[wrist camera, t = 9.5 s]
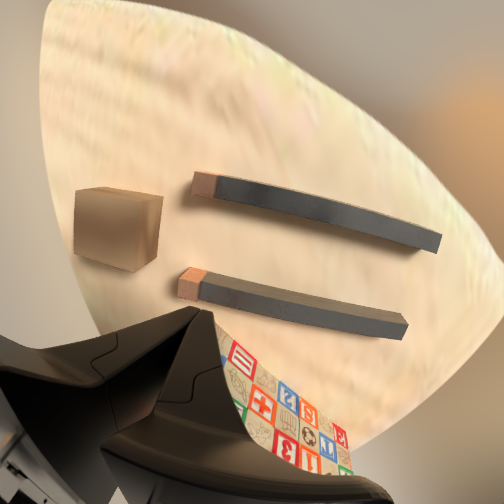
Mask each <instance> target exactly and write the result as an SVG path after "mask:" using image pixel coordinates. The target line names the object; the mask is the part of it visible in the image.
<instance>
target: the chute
mask: <svg viewBox="0 0 504 504" xmlns="http://www.w3.org/2000/svg"><path fill="white" fill-rule="evenodd" d="M191 194H193V195H199V196H204V197H209V198H219V199H224V200H229V201H234V202H239V203H243V204H248V205H253V206H257V207H262V208H266V209H271V210H275V211H280V212H284V213H288V214H293V215H297V216H301V217H305V218H309V219H313V220H317V221H321V222H325V223H329V224H333V225H337V226H341V227H345V228H349V229H353V230H356V231H360V232H364V233H367V234H371V235H375V236H378V237H382V238H385V239H389V240H392V241H396V242H399V243H403V244H406V245H409V246H413V247H416V248H419V249H423V250H426V251H429V252H432V253H435V254H437V251H438V248H439V245H440V241H441V238H442V234H440V233H438V232H435V231H433V230H431V229H428V228H425V227H422V226H420V225H417V224H414V223H411V222H408V221H404V220H401V219H398V218H395V217H392V216H389V215H386V214H382V213H379V212H376V211H372V210H369V209H365V208H362V207H359V206H355V205H351V204H348V203H344V202H341V201H337V200H333V199H329V198H325V197H322V196H318V195H314V194H310V193H306V192H301V191H297V190H293V189H289V188H284V187H280V186H276V185H271V184H266V183H262V182H257V181H252V180H247V179H242V178H237V177H232V176H226V175H221V174H215V173H210V172H198V171H195V172H194V177H193V183H192V189H191ZM177 297H180V298H184V299H188V300H191V301H195V302H197V300H198V299H200V300H204V301H208V302H211V303H215V304H219V305H223V306H227V307H231V308H235V309H239V310H243V311H248V312H252V313H256V314H261V315H265V316H269V317H274V318H278V319H283V320H288V321H292V322H297V323H302V324H307V325H312V326H317V327H322V328H328V329H333V330H339V331H344V332H350V333H356V334H362V335H368V336H374V337H381V338H388V339H395V340H402V338H403V336H404V334H405V332H406V330H407V328H408V325H409V324H408V323H407V322H406V320H405V319H404V318H403V316H402V315H401V313H396V312H390V311H385V310H380V309H375V308H370V307H365V306H360V305H355V304H350V303H345V302H340V301H335V300H330V299H326V298H321V297H316V296H312V295H307V294H302V293H298V292H293V291H289V290H284V289H280V288H275V287H271V286H267V285H262V284H258V283H254V282H250V281H245V280H241V279H237V278H233V277H229V276H224V275H220V274H216V273H212V272H208V271H204V270H200V269H196V268H192V267H190V268H189V269H188V270H187V271H186V272H185V273H184V274H183V275H182V276H181V277H180V278H179V283H178V293H177Z"/></svg>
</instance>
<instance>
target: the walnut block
mask: <svg viewBox="0 0 504 504" xmlns="http://www.w3.org/2000/svg"><path fill="white" fill-rule="evenodd" d="M162 204H163V196H157V195H151V194H145V193H140V192H134V191H128V190H121V189H115V188H109V187H98V188H91V189H83V190H76V193H75V208H74V254H76V255H79V256H82V257H86V258H89V259H92V260H95V261H98V262H101V263H104V264H107V265H111V266H114V267H117V268H120V269H124V270H127V271H130V272H136V271H137V270H139V269H140V268H142V267H143V266H144V265H146V264H147V263H149V262H150V261H152V260H153V259H155V258H156V257H157V249H158V238H159V229H160V220H161V212H162Z"/></svg>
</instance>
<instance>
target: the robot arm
mask: <svg viewBox="0 0 504 504" xmlns="http://www.w3.org/2000/svg"><path fill="white" fill-rule="evenodd" d="M117 487H119V489H120V490H121V492H122V494H123V495H124V497H125V499H126V500H127V502H128V504H394V502H393V499H392V498H391V496H390V495H389V494H388V493H387V491H386V490H384V489H383V488H382V487H381V486H379V485H378V484H376V483H374V482H372V481H371V480H369V479H367V478H365V477H361V476H354V475H322V474H317V473H312V472H309V471H305V470H302V469H300V468H298V467H296V466H294V465H292V464H290V463H289V462H287V461H285V460H283V459H282V458H280V457H278V456H277V455H275V454H273V453H272V452H270V451H268V450H267V449H265V448H263V447H262V446H260V445H259V444H257V443H256V442H255V441H254V440H253V438H252V437H251V435H250V434H249V432H248V430H247V428H246V426H245V424H244V422H243V420H242V418H241V416H240V413H239V411H238V409H237V407H236V405H235V402H234V400H233V398H232V395H231V393H230V390H229V387H228V384H227V380H226V377H225V372H224V368H223V363H222V358H221V353H220V348H219V342H218V337H217V332H216V326H215V321H214V315H213V312H211V311H207V310H204V309H202V310H200V309H199V308H196V307H193V306H187V307H185V308H182V309H179V310H176V311H173V312H171V313H168V314H165V315H162V316H159V317H156V318H153V319H151V320H148V321H145V322H142V323H139V324H136V325H133V326H130V327H127V328H124V329H121V330H118V331H117V332H112V333H109V334H106V335H103V336H99V337H96V338H92V339H89V340H85V341H81V342H75V343H71V344H66V345H61V346H56V347H51V348H45V349H33V348H28V347H25V346H23V345H20V344H18V343H16V342H14V341H12V340H10V339H7V338H6V337H4V336H1V335H0V504H108V503H109V501H110V500H111V498H112V496H113V494H114V492H115V491H116V489H117Z"/></svg>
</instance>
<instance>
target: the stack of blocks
mask: <svg viewBox="0 0 504 504" xmlns="http://www.w3.org/2000/svg"><path fill="white" fill-rule="evenodd" d="M215 326H216V332H217V337H218V342H219V348H220V353H221V358H222V363H223V368H224V372H225V377H226V380H227V384H228V387H229V390H230V393H231V395H232V398H233V400H234V402H235V405H236V407H237V409H238V411H239V413H240V416H241V418H242V420H243V422H244V424H245V426H246V428H247V430H248V432H249V434H250V435H251V437H252V438H253V440H254V441H255V442H256V443H257V444H259V445H260V446H262V447H263V448H265V449H267V450H268V451H270V452H272V453H273V454H275V455H277V456H278V457H280V458H282V459H283V460H285V461H287V462H289V463H290V464H292V465H294V466H296V467H298V468H300V469H302V470H305V471H309V472H312V473H317V474H322V475H353V472H352V468H351V461H350V453H349V450H348V442H347V436H346V431H344V430H343V429H341V428H340V427H338V426H337V425H336V424H334V423H333V422H332V421H331V420H330V419H329V418H327V417H326V416H325V415H323V414H322V413H321V412H319V411H317V410H316V409H315V408H314V407H313V406H312V405H310V404H309V403H308V402H307V401H305V400H304V399H303V398H302V397H300V396H298V395H297V394H296V393H294V392H293V391H292V390H291V389H289V388H288V387H287V386H286V385H285V384H283V383H282V382H281V381H279V380H278V379H277V378H276V377H275V376H273V375H272V374H271V373H270V372H269V371H268V370H266V369H265V368H264V367H263V366H262V365H261V364H259V363H258V362H257V360H256V359H255V358H254V357H253V356H251V355H250V354H249V353H248V352H247V351H246V350H245V349H244V348H242V347H241V346H240V345H239V344H238V343H237V342H236V341H235V340H233V338H232V337H231V336H230V335H229V334H228V333H227V332H225V331H224V330H223V329H222V328H221V327H220V326H219V325H218V324H217V323H216V322H215Z"/></svg>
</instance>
